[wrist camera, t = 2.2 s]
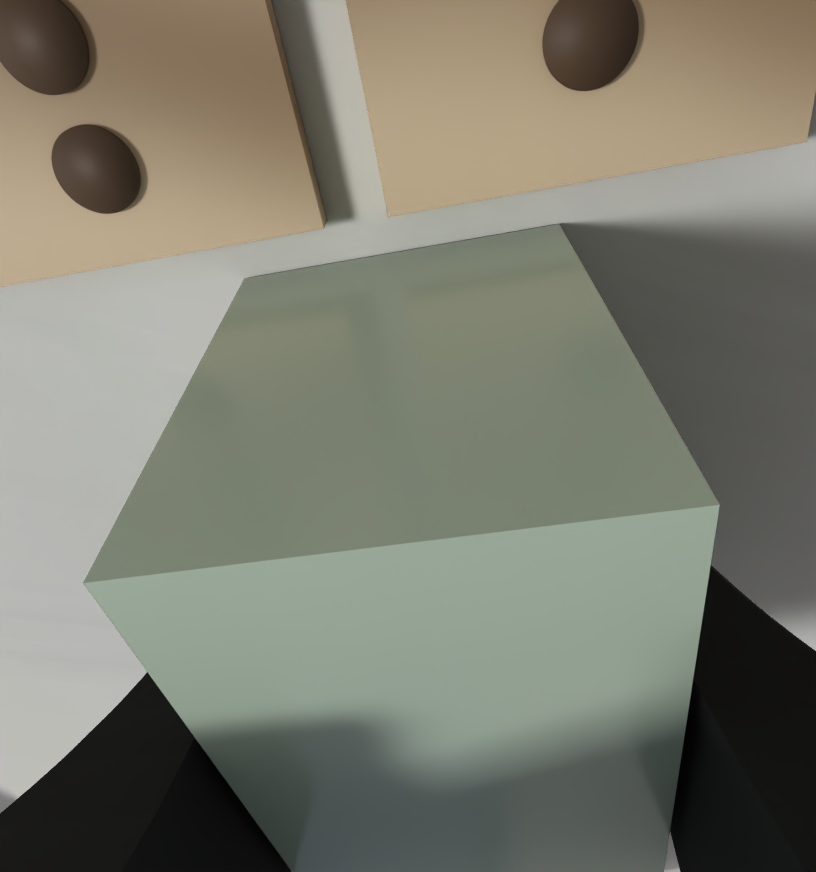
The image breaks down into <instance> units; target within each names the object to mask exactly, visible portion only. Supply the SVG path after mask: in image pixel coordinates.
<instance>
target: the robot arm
mask: <svg viewBox="0 0 816 872" xmlns="http://www.w3.org/2000/svg"><path fill="white" fill-rule="evenodd" d="M670 832H671V836H672V840H673V844H674V848H675V852H676V856H677V860H678V863H679V867H680V872H816V651H815V650H814V649H812V648H811V647H809V646H808V645H807V644H805V643H804V642H803V641H801V640H800V639H799V638H797V637H796V636H795V635H793V634H792V633H791V632H789V631H788V630H787V629H786V628H784V627H783V626H782V625H780V624H779V623H778V622H777V621H775V620H774V619H773V618H771V617H770V616H769V615H768V614H766V613H765V612H764V611H763V610H762V609H760V608H759V607H758V606H757V605H756V604H754V603H753V602H752V601H751V600H750V599H748V598H747V597H746V596H745V595H744V594H743V593H741V592H740V591H739V590H738V589H737V588H736V587H735V586H734V585H732V584H731V583H730V582H729V581H728V580H727V579H726V578H725V577H723V576H722V575H721V574H720V573H719V572H718V571H717V570H716V569H715V568H714V567H713V566H712V565H711V566H710V572H709V579H708V585H707V592H706V598H705V605H704V611H703V618H702V625H701V631H700V638H699V644H698V651H697V657H696V664H695V670H694V677H693V683H692V690H691V697H690V703H689V710H688V716H687V723H686V729H685V736H684V742H683V749H682V755H681V762H680V768H679V775H678V782H677V788H676V795H675V801H674V808H673V814H672V821H671V827H670ZM0 872H292V871H291V870H290V868H289V867H288V865H287V864H286V863H285V861H284V860H283V858H282V857H281V856H280V854H279V853H278V852H277V850H276V849H275V847H274V846H273V845H272V843H271V842H270V841H269V839H268V838H267V836H266V835H265V834H264V832H263V831H262V829H261V828H260V827H259V825H258V824H257V823H256V821H255V820H254V818H253V817H252V816H251V814H250V813H249V812H248V810H247V809H246V807H245V806H244V805H243V803H242V802H241V801H240V799H239V798H238V796H237V795H236V794H235V792H234V791H233V789H232V788H231V787H230V785H229V784H228V783H227V781H226V780H225V778H224V777H223V776H222V774H221V773H220V772H219V770H218V769H217V767H216V766H215V765H214V763H213V762H212V760H211V759H210V758H209V756H208V755H207V754H206V752H205V751H204V749H203V748H202V747H201V745H200V744H199V743H198V741H197V740H196V738H195V737H194V736H193V734H192V733H191V731H190V730H189V729H188V727H187V726H186V725H185V723H184V722H183V720H182V719H181V718H180V716H179V715H178V714H177V712H176V711H175V709H174V708H173V707H172V705H171V704H170V702H169V701H168V700H167V698H166V697H165V696H164V694H163V693H162V691H161V690H160V689H159V687H158V686H157V685H156V683H155V682H154V680H153V679H152V678H151V676H150V675H149V673H148V672H147V673H146V674H145V676H144V677H143V678H142V679H141V680H140V681H139V682H138V683H137V685H136V686H135V687H134V688H133V689H132V690H131V691H130V692H129V693H128V694H127V695H126V697H125V698H124V699H123V700H122V701H121V702H120V703H119V704H118V705H117V706H116V707H115V708H114V709H113V710H112V711H111V712H110V713H109V714H108V715H107V716H106V717H105V718H104V719H103V720H102V721H101V722H100V723H99V724H98V725H97V726H96V727H95V728H94V729H93V730H92V731H91V732H90V733H89V734H88V735H87V736H86V737H85V738H84V739H83V740H82V741H81V742H80V743H79V744H78V745H77V746H76V747H75V748H74V749H73V750H72V751H70V752H69V753H68V754H67V755H66V756H65V757H64V758H63V759H62V760H61V761H60V762H59V763H58V764H57V765H56V766H54V767H53V768H52V769H51V770H50V771H49V772H48V773H47V774H45V775H44V776H43V777H42V778H41V779H40V780H39V781H38V782H37V783H35V784H34V785H33V786H32V787H31V788H30V789H29V790H27V791H26V792H25V793H24V794H23V795H21V796H20V797H19V798H18V799H17V800H16V801H14V802H13V803H12V804H11V805H10V806H9V807H8V808H6V809H5V810H4V811H3V812H1V813H0Z"/></svg>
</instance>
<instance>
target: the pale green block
mask: <svg viewBox="0 0 816 872" xmlns="http://www.w3.org/2000/svg"><path fill="white" fill-rule="evenodd" d="M719 507H720V504H719V502H718V501H717V499H716V497H715V495H714V494H713V492H712V490H711V488H710V487H709V485H708V483H707V481H706V480H705V478H704V476H703V475H702V473H701V471H700V469H699V468H698V466H697V464H696V462H695V461H694V459H693V457H692V455H691V454H690V452H689V450H688V448H687V447H686V445H685V443H684V441H683V440H682V438H681V436H680V434H679V433H678V431H677V429H676V427H675V426H674V424H673V422H672V420H671V419H670V417H669V415H668V413H667V412H666V410H665V408H664V406H663V405H662V403H661V401H660V399H659V398H658V396H657V394H656V392H655V391H654V389H653V387H652V385H651V384H650V382H649V380H648V378H647V377H646V375H645V373H644V371H643V370H642V368H641V366H640V364H639V363H638V361H637V359H636V357H635V356H634V354H633V352H632V350H631V349H630V347H629V345H628V343H627V342H626V340H625V338H624V336H623V335H622V333H621V331H620V329H619V328H618V326H617V324H616V322H615V321H614V319H613V317H612V315H611V314H610V312H609V310H608V308H607V307H606V305H605V303H604V301H603V300H602V298H601V296H600V294H599V293H598V291H597V289H596V287H595V286H594V284H593V282H592V280H591V279H590V277H589V275H588V273H587V272H586V270H585V268H584V266H583V265H582V263H581V261H580V259H579V258H578V256H577V254H576V252H575V251H574V249H573V247H572V245H571V244H570V242H569V240H568V238H567V237H566V235H565V233H564V231H563V230H562V228H561V226H560V224H556V225H550V226H545V227H539V228H533V229H527V230H522V231H516V232H510V233H504V234H499V235H493V236H487V237H481V238H475V239H470V240H464V241H458V242H452V243H447V244H441V245H435V246H429V247H424V248H418V249H412V250H406V251H400V252H395V253H389V254H383V255H377V256H372V257H366V258H360V259H354V260H349V261H343V262H337V263H331V264H325V265H320V266H314V267H308V268H302V269H297V270H291V271H285V272H279V273H273V274H268V275H262V276H256V277H250V278H245V279H244V280H243V282H242V284H241V286H240V288H239V289H238V291H237V293H236V295H235V297H234V299H233V301H232V303H231V305H230V306H229V308H228V310H227V312H226V314H225V316H224V318H223V320H222V322H221V323H220V325H219V327H218V329H217V331H216V333H215V335H214V337H213V339H212V340H211V342H210V344H209V346H208V348H207V350H206V352H205V354H204V356H203V357H202V359H201V361H200V363H199V365H198V367H197V369H196V371H195V373H194V374H193V376H192V378H191V380H190V382H189V384H188V386H187V388H186V390H185V391H184V393H183V395H182V397H181V399H180V401H179V403H178V405H177V407H176V408H175V410H174V412H173V414H172V416H171V418H170V420H169V422H168V424H167V426H166V427H165V429H164V431H163V433H162V435H161V437H160V439H159V441H158V443H157V444H156V446H155V448H154V450H153V452H152V454H151V456H150V458H149V460H148V461H147V463H146V465H145V467H144V469H143V471H142V473H141V475H140V477H139V478H138V480H137V482H136V484H135V486H134V488H133V490H132V492H131V494H130V495H129V497H128V499H127V501H126V503H125V505H124V507H123V509H122V511H121V512H120V514H119V516H118V518H117V520H116V522H115V524H114V526H113V528H112V529H111V531H110V533H109V535H108V537H107V539H106V541H105V543H104V545H103V546H102V548H101V550H100V552H99V554H98V556H97V558H96V560H95V562H94V563H93V565H92V567H91V569H90V571H89V573H88V575H87V577H86V579H85V580H84V582H83V584H84V585H85V587H86V588H87V589H88V591H89V592H90V593H91V595H92V596H93V598H94V599H95V600H96V602H97V603H98V604H99V606H100V607H101V609H102V610H103V611H104V613H105V614H106V616H107V617H108V618H109V620H110V621H111V622H112V624H113V625H114V627H115V628H116V629H117V631H118V632H119V633H120V635H121V636H122V638H123V639H124V640H125V642H126V643H127V645H128V646H129V647H130V649H131V650H132V651H133V653H134V654H135V656H136V657H137V658H138V660H139V661H140V662H141V664H142V665H143V667H144V668H145V669H146V671H147V672H148V673H149V675H150V676H151V678H152V679H153V680H154V682H155V683H156V685H157V686H158V687H159V689H160V690H161V691H162V693H163V694H164V696H165V697H166V698H167V700H168V701H169V702H170V704H171V705H172V707H173V708H174V709H175V711H176V712H177V714H178V715H179V716H180V718H181V719H182V720H183V722H184V723H185V725H186V726H187V727H188V729H189V730H190V731H191V733H192V734H193V736H194V737H195V738H196V740H197V741H198V743H199V744H200V745H201V747H202V748H203V749H204V751H205V752H206V754H207V755H208V756H209V758H210V759H211V760H212V762H213V763H214V765H215V766H216V767H217V769H218V770H219V772H220V773H221V774H222V776H223V777H224V778H225V780H226V781H227V783H228V784H229V785H230V787H231V788H232V789H233V791H234V792H235V794H236V795H237V796H238V798H239V799H240V801H241V802H242V803H243V805H244V806H245V807H246V809H247V810H248V812H249V813H250V814H251V816H252V817H253V818H254V820H255V821H256V823H257V824H258V825H259V827H260V828H261V829H262V831H263V832H264V834H265V835H266V836H267V838H268V839H269V841H270V842H271V843H272V845H273V846H274V847H275V849H276V850H277V852H278V853H279V854H280V856H281V857H282V858H283V860H284V861H285V863H286V864H287V865H288V867H289V868H290V870H291V871H292V872H664V867H665V860H666V854H667V847H668V840H669V834H670V827H671V821H672V814H673V808H674V801H675V795H676V788H677V782H678V775H679V768H680V762H681V755H682V749H683V742H684V736H685V729H686V723H687V716H688V710H689V703H690V697H691V690H692V683H693V677H694V670H695V664H696V657H697V651H698V644H699V638H700V631H701V625H702V618H703V611H704V605H705V598H706V592H707V585H708V579H709V572H710V566H711V559H712V553H713V546H714V540H715V533H716V526H717V520H718V513H719Z"/></svg>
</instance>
